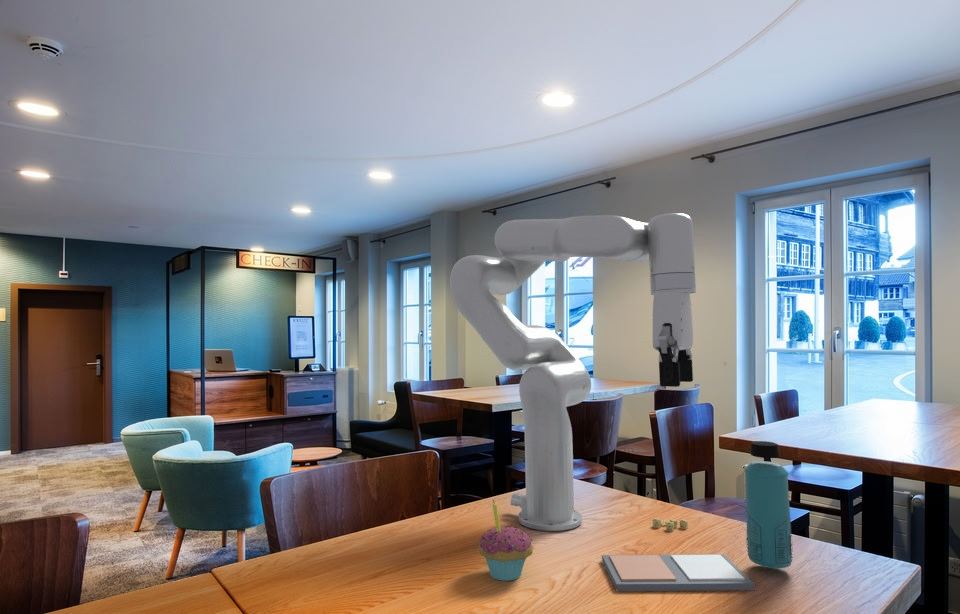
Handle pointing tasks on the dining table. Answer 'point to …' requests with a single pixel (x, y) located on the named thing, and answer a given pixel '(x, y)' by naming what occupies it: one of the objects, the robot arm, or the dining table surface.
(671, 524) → the dice set
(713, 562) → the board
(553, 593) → the dining table surface
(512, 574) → the cupcake
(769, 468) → the beverage bottle
